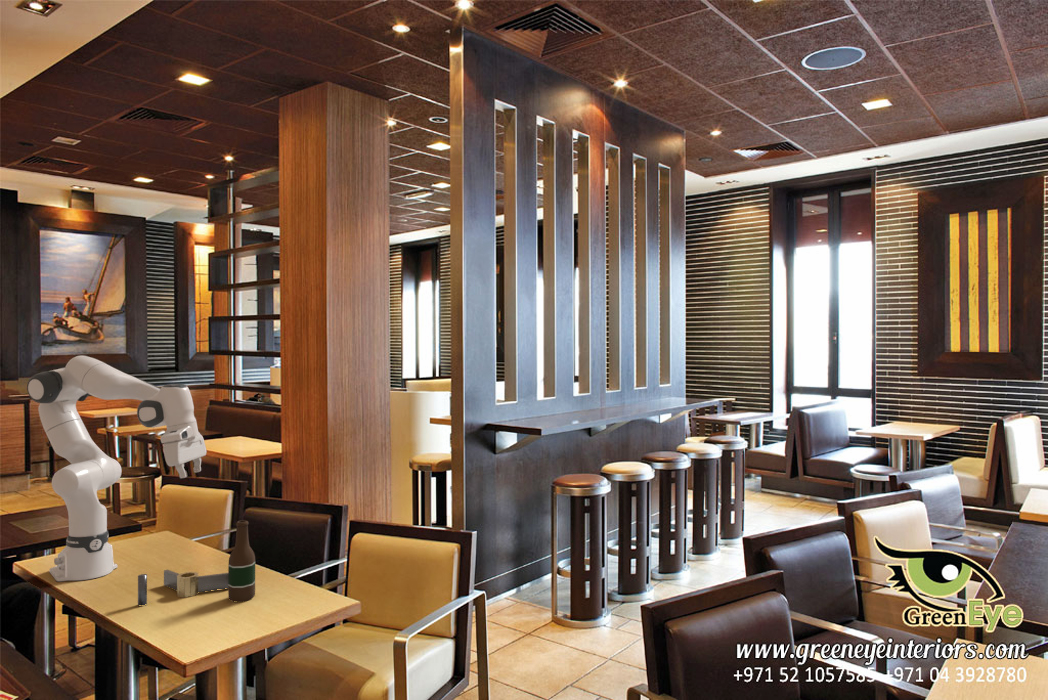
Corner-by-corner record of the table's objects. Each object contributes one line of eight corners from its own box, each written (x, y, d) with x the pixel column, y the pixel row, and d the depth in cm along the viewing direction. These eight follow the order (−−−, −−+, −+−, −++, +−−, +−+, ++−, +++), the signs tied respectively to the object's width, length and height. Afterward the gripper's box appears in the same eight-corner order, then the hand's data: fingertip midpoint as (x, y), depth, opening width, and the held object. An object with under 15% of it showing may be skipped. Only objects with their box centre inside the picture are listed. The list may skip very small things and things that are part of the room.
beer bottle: (260, 595, 217) (260, 519, 217) (243, 603, 210) (243, 525, 209) (240, 592, 219) (241, 517, 219) (222, 600, 212) (222, 523, 212)
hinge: (156, 587, 223) (156, 569, 223) (201, 575, 235) (201, 557, 235) (190, 601, 211) (191, 582, 211) (236, 587, 223) (236, 569, 223)
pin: (136, 605, 208) (136, 575, 208) (144, 602, 210) (144, 573, 210) (140, 607, 207) (140, 577, 207) (148, 604, 209) (148, 575, 209)
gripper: (189, 430, 233) (196, 470, 233) (157, 438, 212) (165, 482, 212) (207, 427, 233) (214, 467, 233) (177, 435, 212) (185, 479, 212)
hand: (190, 474), depth 223 cm, fingers open, 8 cm apart
